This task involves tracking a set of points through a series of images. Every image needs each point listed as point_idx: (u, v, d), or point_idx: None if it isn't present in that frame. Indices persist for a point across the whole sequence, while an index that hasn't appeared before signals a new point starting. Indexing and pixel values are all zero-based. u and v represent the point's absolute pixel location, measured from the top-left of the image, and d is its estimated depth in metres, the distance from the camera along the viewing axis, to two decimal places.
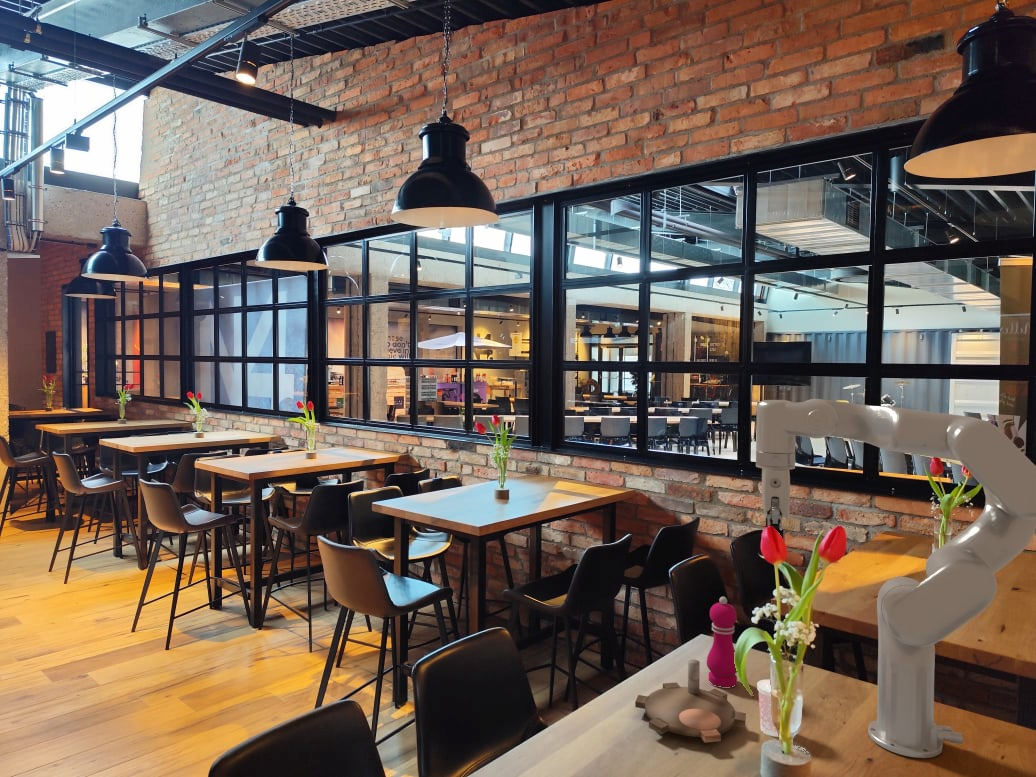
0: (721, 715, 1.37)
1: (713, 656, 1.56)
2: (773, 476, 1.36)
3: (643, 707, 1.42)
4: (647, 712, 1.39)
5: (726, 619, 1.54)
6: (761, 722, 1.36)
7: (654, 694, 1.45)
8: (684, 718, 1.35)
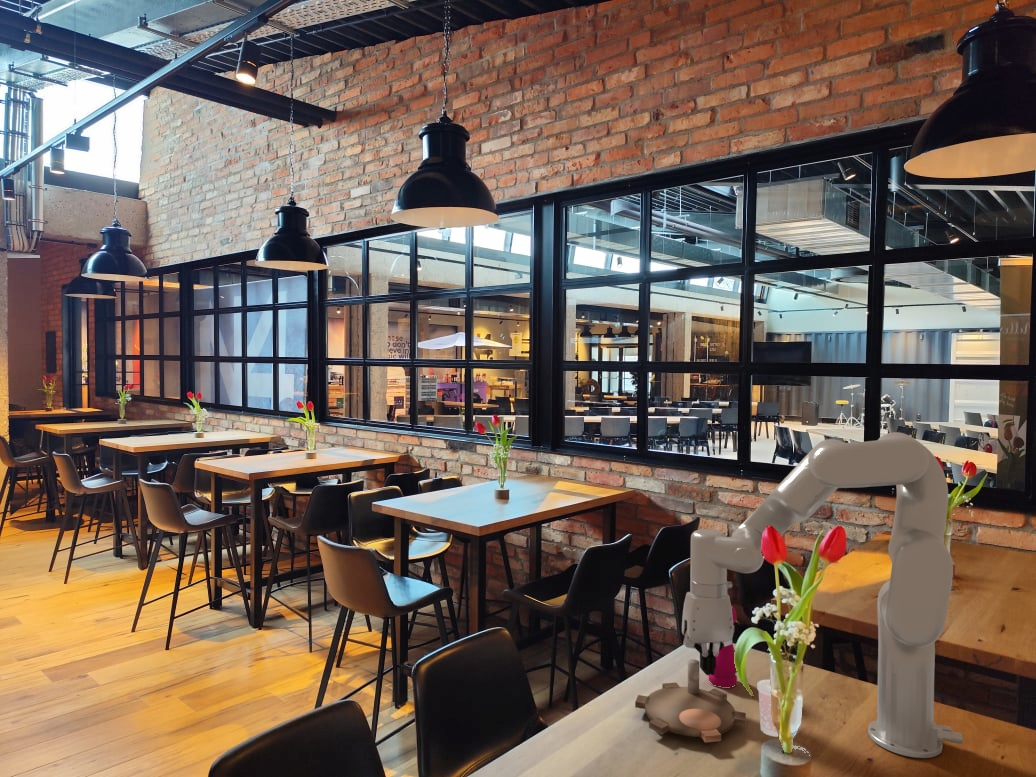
0: (721, 715, 1.37)
1: None
2: None
3: (643, 707, 1.42)
4: (647, 712, 1.39)
5: None
6: (761, 722, 1.36)
7: (654, 694, 1.45)
8: (684, 718, 1.35)
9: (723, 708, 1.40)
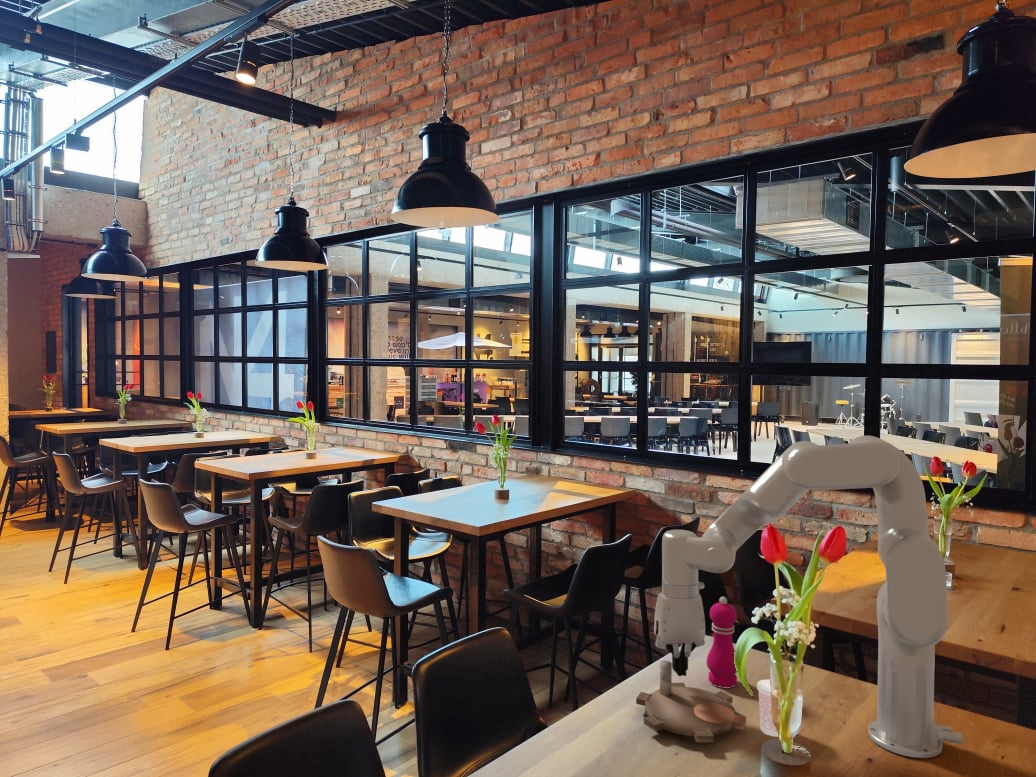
0: (715, 701, 1.42)
1: (713, 656, 1.56)
2: None
3: (661, 727, 1.34)
4: (676, 729, 1.32)
5: (726, 619, 1.54)
6: (761, 722, 1.36)
7: (652, 711, 1.39)
8: (708, 718, 1.35)
9: (705, 695, 1.45)
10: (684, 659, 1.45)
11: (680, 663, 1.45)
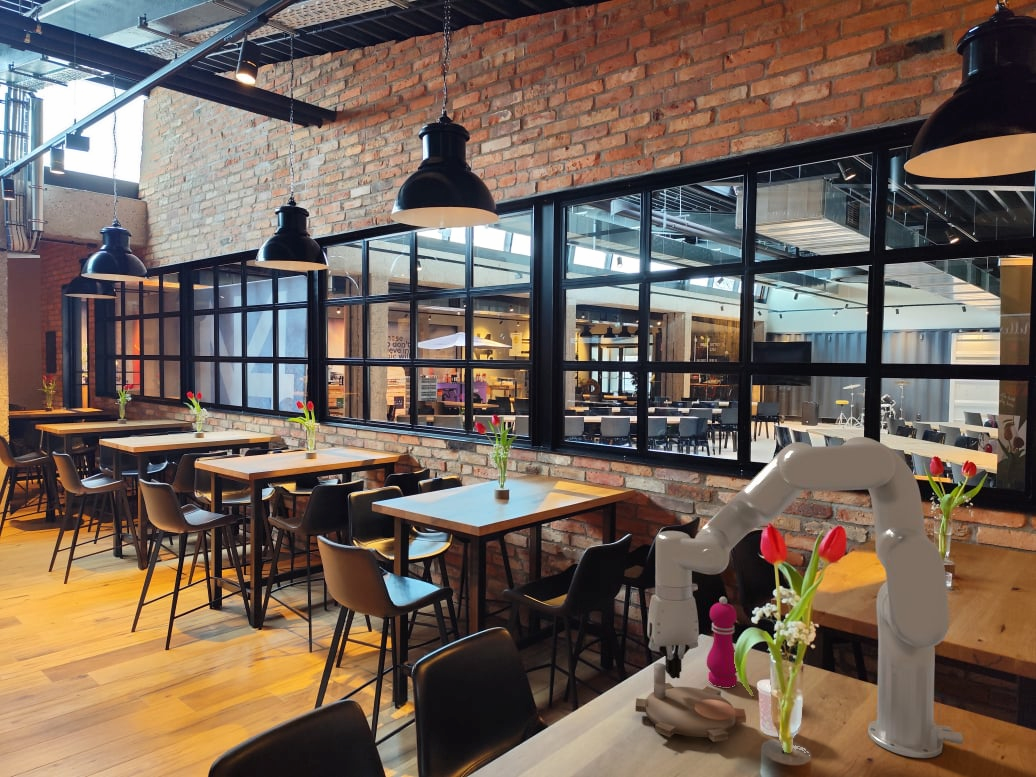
0: (709, 697, 1.44)
1: (713, 656, 1.56)
2: None
3: (674, 732, 1.32)
4: (690, 732, 1.31)
5: (726, 619, 1.54)
6: (761, 722, 1.36)
7: (658, 716, 1.36)
8: (713, 716, 1.36)
9: (696, 692, 1.46)
10: (678, 661, 1.44)
11: (673, 665, 1.44)
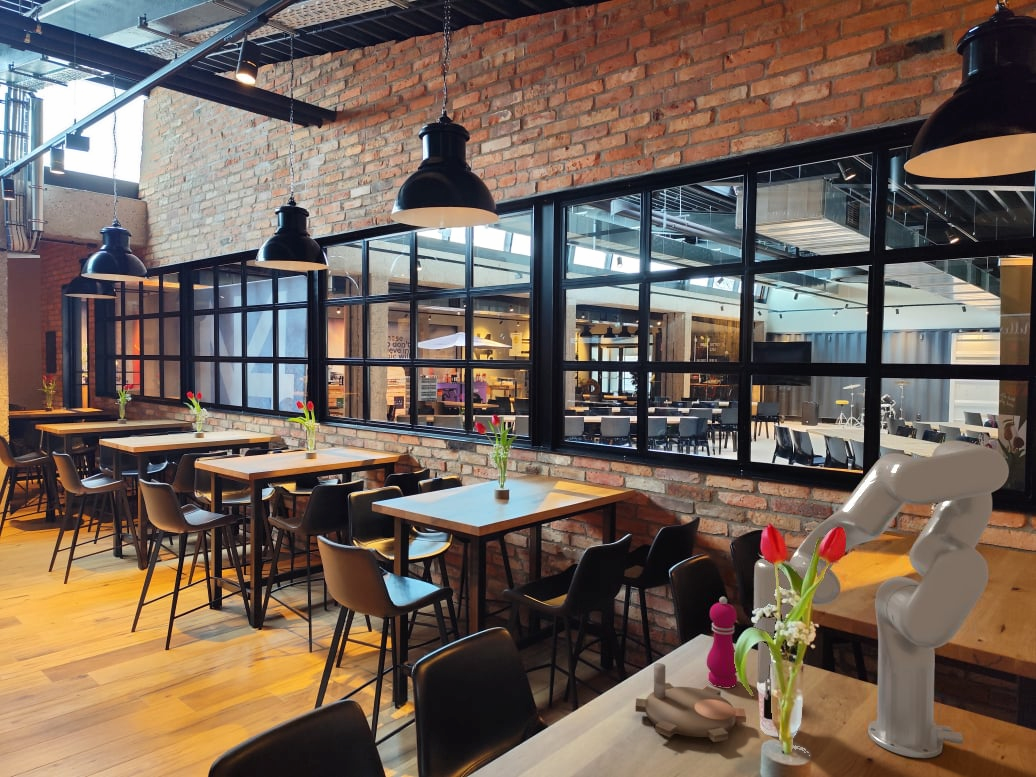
0: (708, 697, 1.44)
1: (713, 656, 1.56)
2: None
3: (674, 732, 1.32)
4: (691, 732, 1.31)
5: (726, 619, 1.54)
6: (761, 722, 1.36)
7: (658, 716, 1.36)
8: (713, 716, 1.36)
9: (696, 692, 1.46)
10: None
11: None
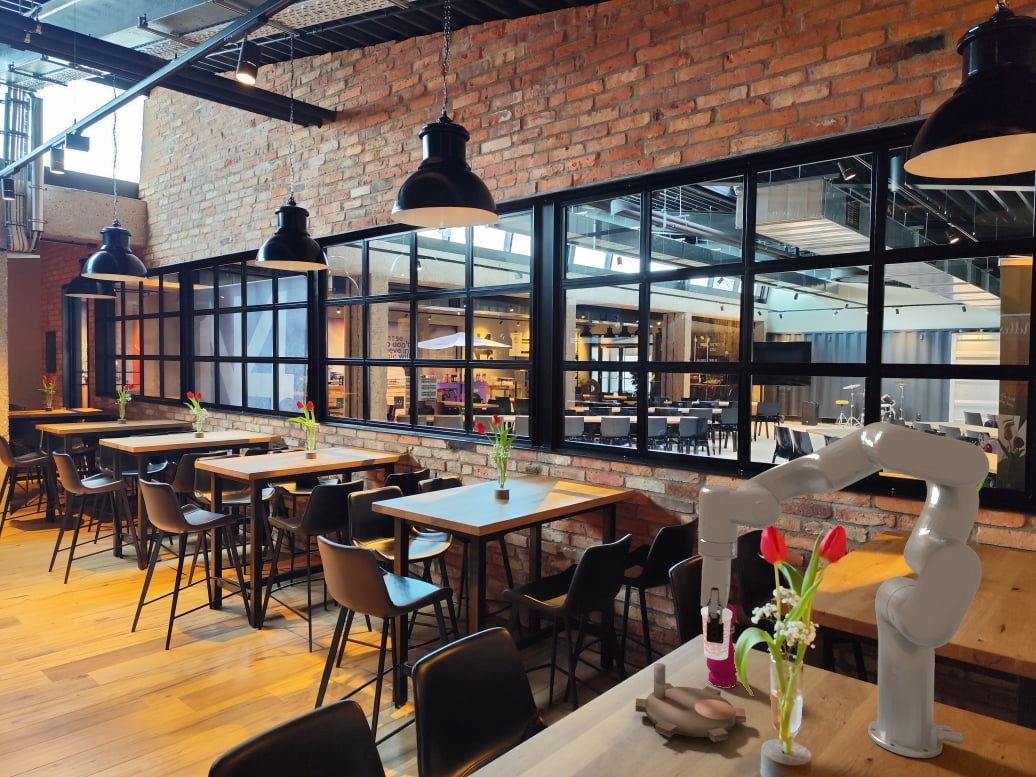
0: (708, 697, 1.44)
1: None
2: None
3: (674, 732, 1.32)
4: (691, 732, 1.31)
5: None
6: (704, 647, 1.38)
7: (658, 716, 1.36)
8: (713, 716, 1.36)
9: (696, 692, 1.46)
10: None
11: (723, 629, 1.34)
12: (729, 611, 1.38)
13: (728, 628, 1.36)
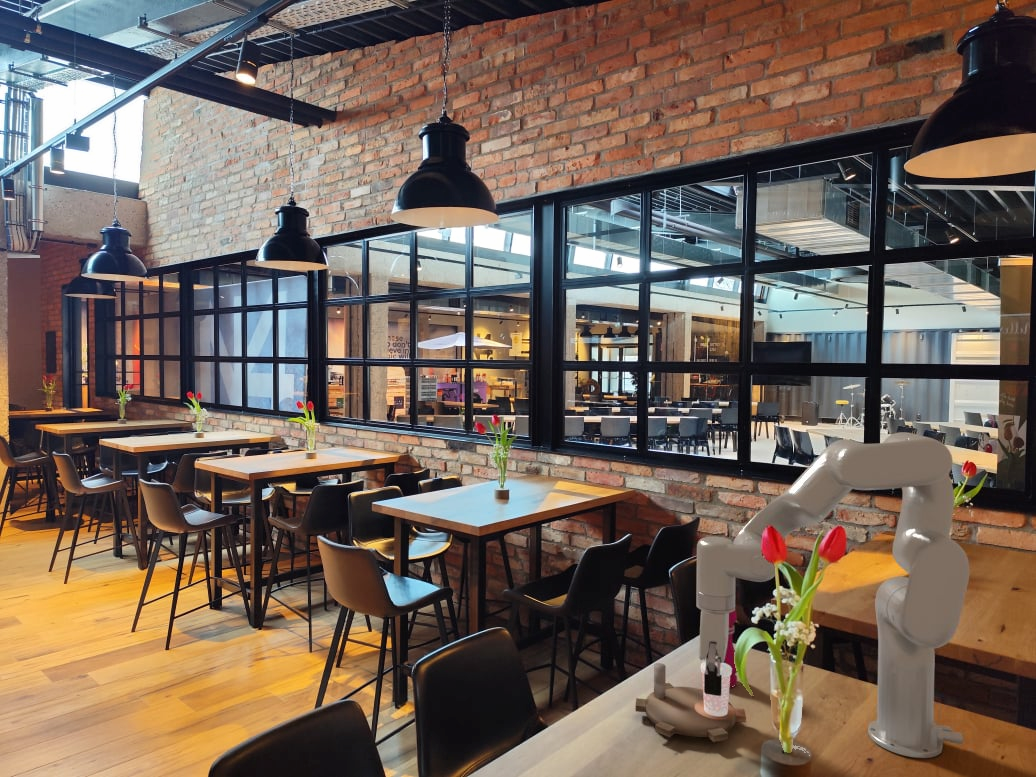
0: None
1: None
2: None
3: (674, 732, 1.32)
4: (690, 732, 1.31)
5: None
6: (704, 702, 1.38)
7: (658, 716, 1.36)
8: (713, 716, 1.36)
9: (696, 692, 1.46)
10: None
11: (721, 681, 1.33)
12: (728, 667, 1.38)
13: (728, 684, 1.36)
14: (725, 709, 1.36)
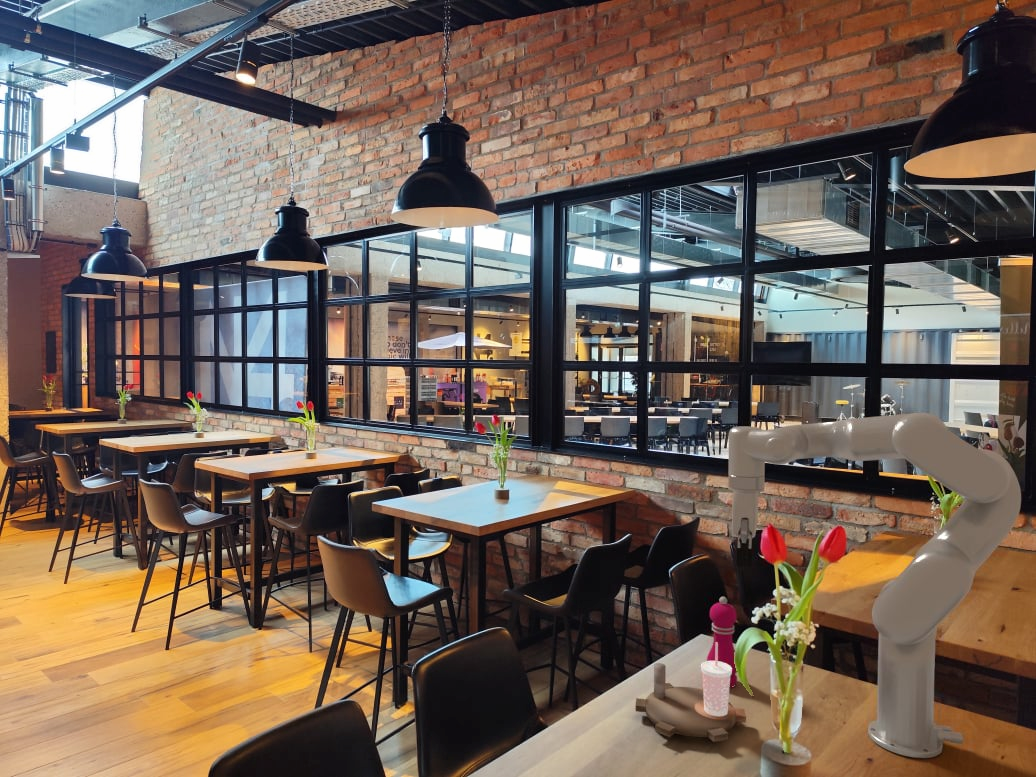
0: None
1: (713, 656, 1.56)
2: None
3: (674, 732, 1.32)
4: (690, 732, 1.31)
5: (726, 619, 1.54)
6: (704, 702, 1.38)
7: (658, 716, 1.36)
8: (713, 716, 1.36)
9: (696, 692, 1.46)
10: (753, 539, 1.54)
11: (752, 553, 1.45)
12: (729, 667, 1.38)
13: (728, 684, 1.36)
14: (725, 709, 1.36)
